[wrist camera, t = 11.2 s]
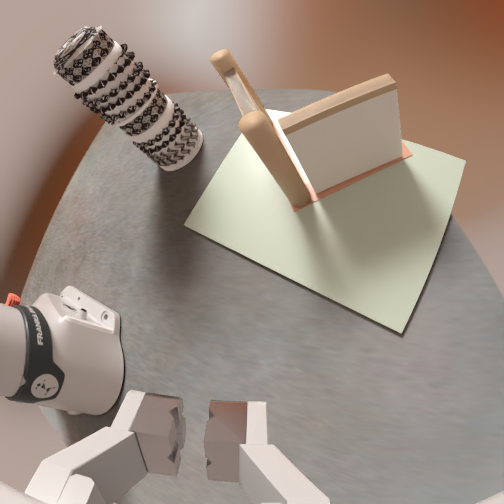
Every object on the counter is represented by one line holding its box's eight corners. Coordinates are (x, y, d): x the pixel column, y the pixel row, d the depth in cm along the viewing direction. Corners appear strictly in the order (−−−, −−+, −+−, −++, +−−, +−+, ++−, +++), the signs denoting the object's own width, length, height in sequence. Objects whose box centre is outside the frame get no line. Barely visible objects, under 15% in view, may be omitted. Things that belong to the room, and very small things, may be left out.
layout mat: (185, 226, 42) (183, 224, 41) (260, 109, 44) (258, 107, 44) (401, 334, 27) (401, 333, 26) (465, 162, 29) (465, 160, 29)
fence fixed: (256, 126, 43) (208, 56, 32) (271, 118, 42) (226, 46, 31) (295, 212, 36) (242, 137, 24) (314, 203, 35) (269, 123, 24)
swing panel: (316, 194, 35) (281, 130, 25) (311, 185, 35) (277, 119, 26) (403, 156, 32) (395, 82, 22) (397, 147, 32) (387, 73, 23)
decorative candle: (215, 139, 45) (104, 15, 24) (170, 183, 46) (42, 77, 25) (189, 118, 50) (92, 14, 29) (149, 156, 51) (42, 64, 30)
